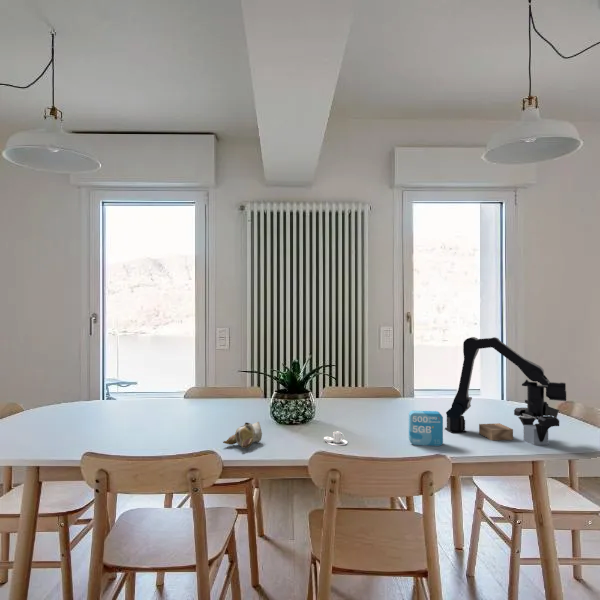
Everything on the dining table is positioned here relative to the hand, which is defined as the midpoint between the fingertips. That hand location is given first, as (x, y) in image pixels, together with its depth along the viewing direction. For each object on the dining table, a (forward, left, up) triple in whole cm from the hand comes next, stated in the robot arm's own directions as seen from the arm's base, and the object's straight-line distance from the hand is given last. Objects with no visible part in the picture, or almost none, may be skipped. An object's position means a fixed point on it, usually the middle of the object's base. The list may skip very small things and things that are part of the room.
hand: (535, 439), depth 172 cm
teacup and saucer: (-76, +13, -2) cm, 77 cm away
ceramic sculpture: (-110, +11, -2) cm, 111 cm away
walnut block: (-11, +9, -1) cm, 14 cm away
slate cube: (0, 0, -1) cm, 1 cm away
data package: (-43, +4, -2) cm, 43 cm away
